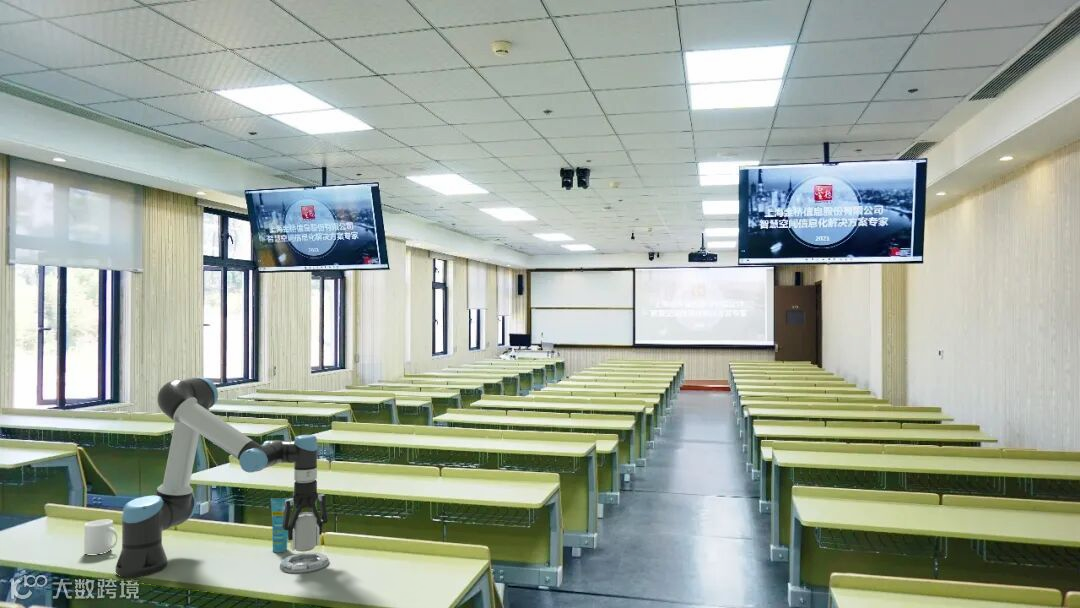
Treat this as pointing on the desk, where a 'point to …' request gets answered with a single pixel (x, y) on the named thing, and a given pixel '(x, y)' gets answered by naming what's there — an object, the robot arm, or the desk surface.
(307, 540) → the can
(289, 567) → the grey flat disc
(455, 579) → the desk surface
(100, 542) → the mug
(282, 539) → the tube
